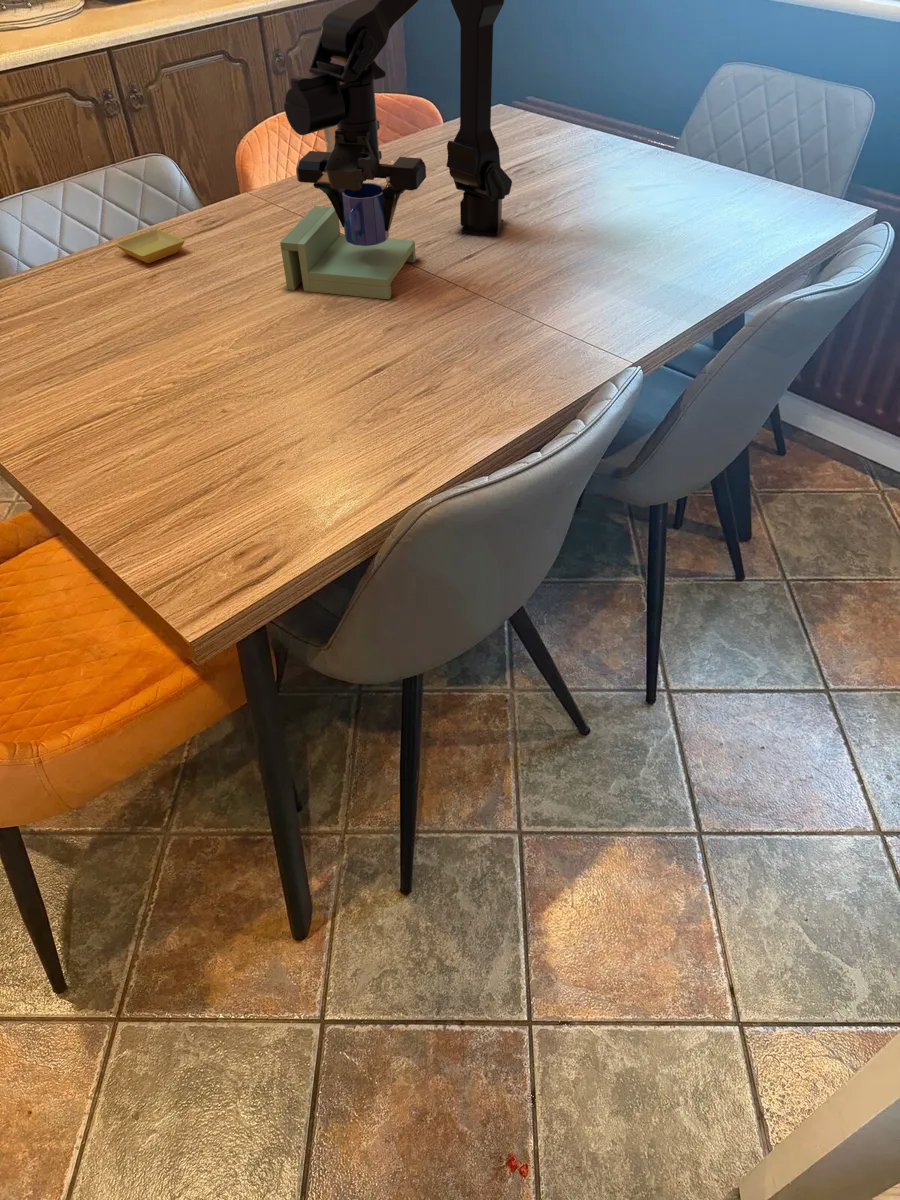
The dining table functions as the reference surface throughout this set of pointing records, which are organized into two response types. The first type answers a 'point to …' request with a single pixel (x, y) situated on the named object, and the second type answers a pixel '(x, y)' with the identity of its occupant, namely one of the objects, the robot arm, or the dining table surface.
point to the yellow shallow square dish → (151, 245)
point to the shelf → (340, 258)
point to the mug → (364, 215)
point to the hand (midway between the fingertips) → (366, 228)
